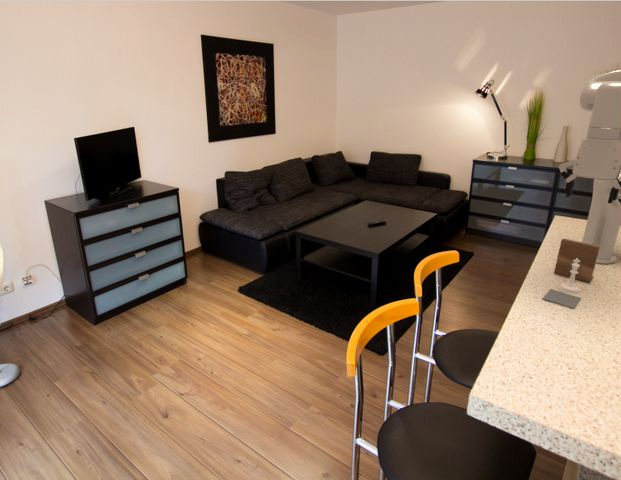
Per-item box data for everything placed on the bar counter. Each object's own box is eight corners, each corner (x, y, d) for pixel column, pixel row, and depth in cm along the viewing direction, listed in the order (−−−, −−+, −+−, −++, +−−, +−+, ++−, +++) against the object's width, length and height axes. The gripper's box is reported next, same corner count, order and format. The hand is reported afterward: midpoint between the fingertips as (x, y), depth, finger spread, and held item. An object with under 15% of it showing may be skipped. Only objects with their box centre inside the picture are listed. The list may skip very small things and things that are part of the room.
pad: (550, 290, 122) (550, 289, 122) (581, 299, 117) (581, 297, 117) (542, 299, 117) (542, 298, 117) (574, 309, 112) (574, 308, 112)
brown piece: (558, 269, 136) (565, 235, 132) (593, 278, 130) (602, 243, 126) (553, 274, 133) (561, 239, 129) (589, 283, 126) (598, 247, 122)
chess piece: (582, 293, 120) (590, 262, 117) (563, 291, 121) (571, 261, 118) (575, 286, 125) (583, 255, 122) (557, 284, 126) (564, 254, 122)
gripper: (649, 135, 101) (630, 202, 107) (570, 130, 112) (557, 191, 118) (644, 138, 96) (625, 208, 102) (562, 133, 107) (549, 196, 113)
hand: (589, 199), depth 110 cm, fingers open, 9 cm apart
